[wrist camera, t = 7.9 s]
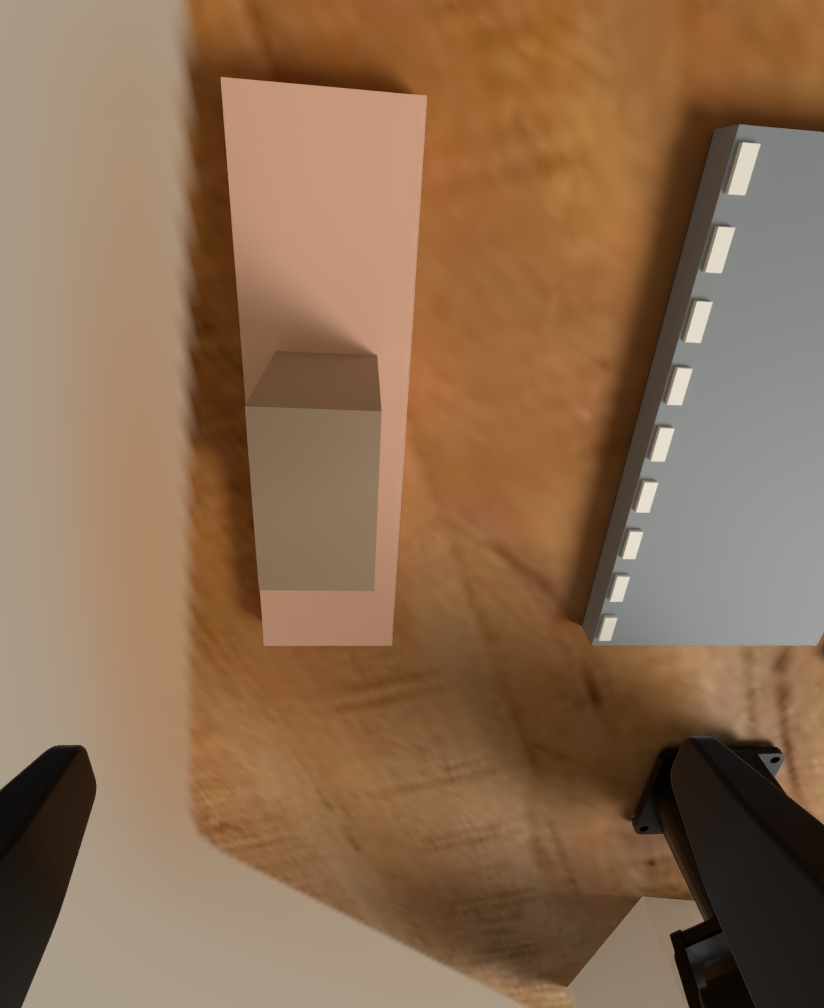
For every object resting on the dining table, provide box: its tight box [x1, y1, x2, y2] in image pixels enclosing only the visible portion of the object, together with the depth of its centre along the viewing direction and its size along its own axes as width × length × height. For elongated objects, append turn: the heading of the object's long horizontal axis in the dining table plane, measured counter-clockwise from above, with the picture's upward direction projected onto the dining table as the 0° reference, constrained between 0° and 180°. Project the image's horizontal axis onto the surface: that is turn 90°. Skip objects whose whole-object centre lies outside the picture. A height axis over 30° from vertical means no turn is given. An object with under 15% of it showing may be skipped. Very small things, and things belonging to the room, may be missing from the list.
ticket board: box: [582, 124, 824, 646], centre depth 20 cm, size 18×10×1 cm, turn 176°
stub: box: [221, 77, 427, 646], centre depth 16 cm, size 18×5×6 cm, turn 176°
